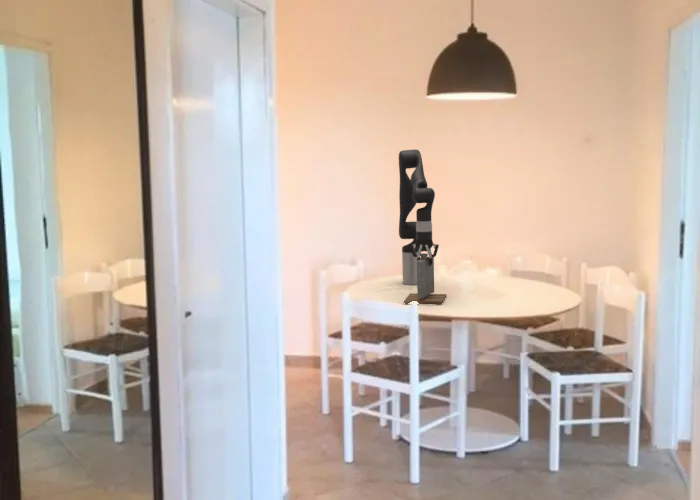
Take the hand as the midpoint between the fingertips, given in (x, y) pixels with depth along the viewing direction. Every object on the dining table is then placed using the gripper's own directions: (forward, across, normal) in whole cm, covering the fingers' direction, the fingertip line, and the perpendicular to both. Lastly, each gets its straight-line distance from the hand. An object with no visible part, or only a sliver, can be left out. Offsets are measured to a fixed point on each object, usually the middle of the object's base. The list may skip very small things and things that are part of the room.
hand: (424, 265), depth 381 cm
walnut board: (+17, 0, 0) cm, 17 cm away
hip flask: (+15, 0, 0) cm, 15 cm away
